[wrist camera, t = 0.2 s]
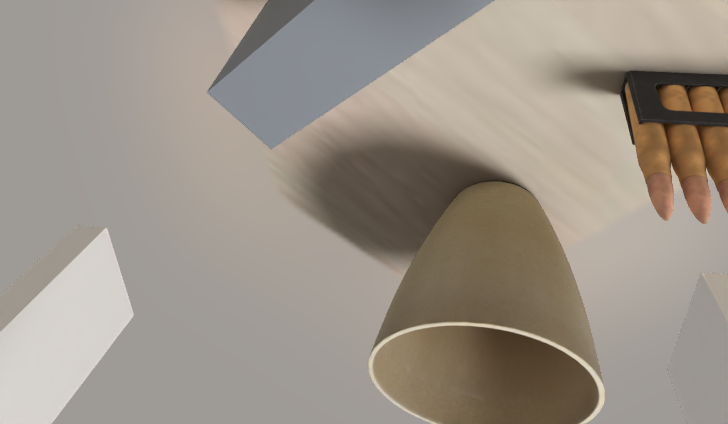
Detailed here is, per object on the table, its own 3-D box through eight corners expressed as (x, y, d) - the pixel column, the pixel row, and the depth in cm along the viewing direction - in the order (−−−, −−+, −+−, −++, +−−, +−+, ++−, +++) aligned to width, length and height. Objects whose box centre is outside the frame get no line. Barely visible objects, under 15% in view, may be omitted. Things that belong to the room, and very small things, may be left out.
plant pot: (546, 115, 40) (549, 304, 29) (615, 246, 48) (637, 433, 37) (371, 177, 48) (323, 344, 37) (454, 281, 56) (435, 444, 45)
